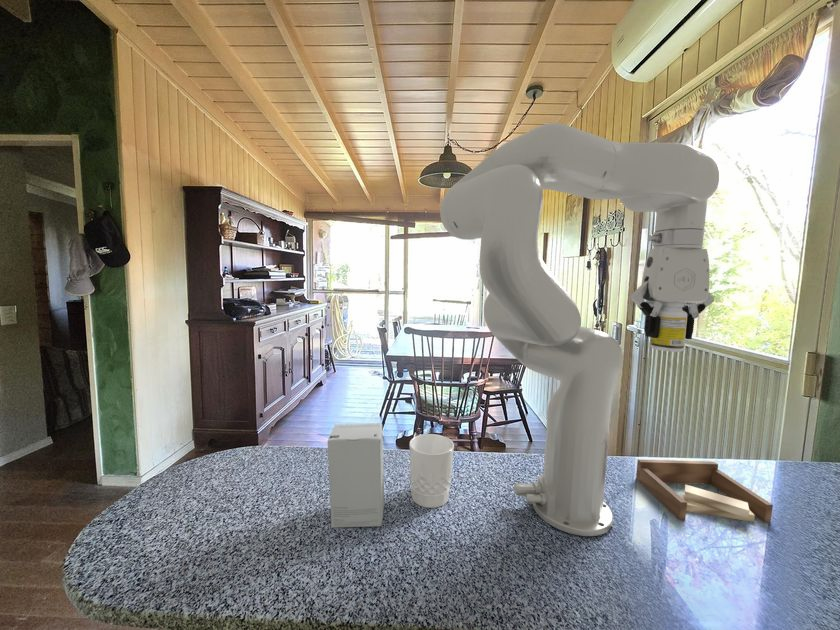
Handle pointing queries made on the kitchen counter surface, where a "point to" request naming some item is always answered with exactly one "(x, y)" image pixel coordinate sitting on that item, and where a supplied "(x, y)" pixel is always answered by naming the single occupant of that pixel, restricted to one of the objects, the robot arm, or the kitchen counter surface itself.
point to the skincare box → (356, 475)
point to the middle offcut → (713, 510)
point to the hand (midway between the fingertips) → (667, 336)
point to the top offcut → (717, 501)
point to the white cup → (431, 469)
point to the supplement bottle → (671, 328)
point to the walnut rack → (706, 472)
